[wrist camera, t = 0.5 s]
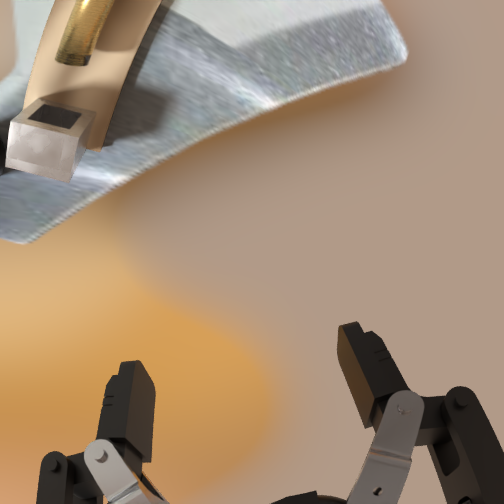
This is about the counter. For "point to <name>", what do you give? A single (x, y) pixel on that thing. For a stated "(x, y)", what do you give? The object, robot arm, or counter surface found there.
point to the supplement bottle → (2, 157)
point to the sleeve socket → (49, 139)
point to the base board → (91, 62)
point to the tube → (82, 31)
